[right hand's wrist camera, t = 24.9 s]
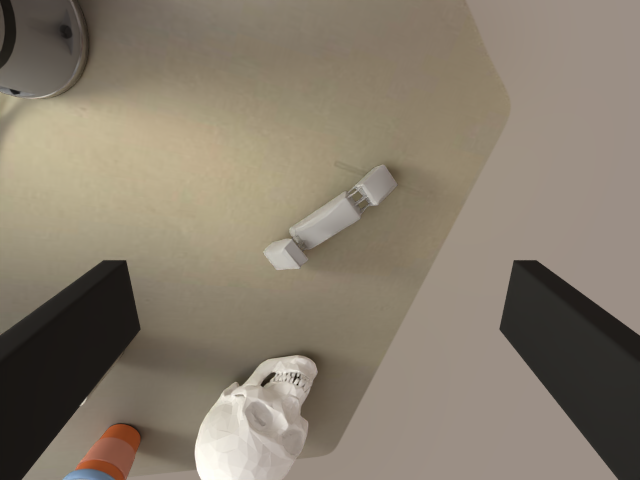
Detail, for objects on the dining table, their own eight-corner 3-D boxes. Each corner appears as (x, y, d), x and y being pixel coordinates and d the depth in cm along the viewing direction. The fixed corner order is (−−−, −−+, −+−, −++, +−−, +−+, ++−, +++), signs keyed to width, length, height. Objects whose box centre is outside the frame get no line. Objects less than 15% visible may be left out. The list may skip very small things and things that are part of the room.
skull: (340, 372, 60) (343, 460, 45) (258, 445, 65) (236, 543, 51) (278, 325, 57) (259, 401, 42) (198, 405, 63) (157, 497, 48)
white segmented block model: (278, 267, 52) (277, 287, 46) (261, 247, 51) (258, 265, 45) (391, 182, 50) (407, 191, 43) (376, 160, 49) (390, 166, 42)
